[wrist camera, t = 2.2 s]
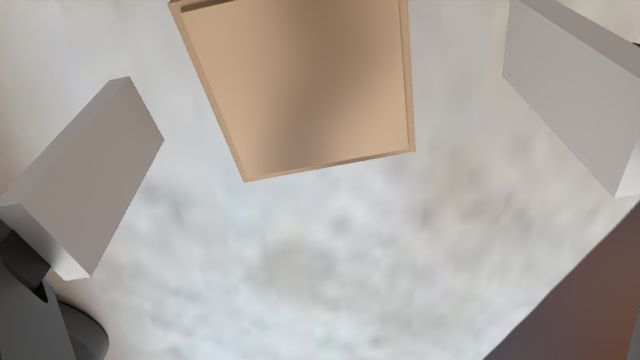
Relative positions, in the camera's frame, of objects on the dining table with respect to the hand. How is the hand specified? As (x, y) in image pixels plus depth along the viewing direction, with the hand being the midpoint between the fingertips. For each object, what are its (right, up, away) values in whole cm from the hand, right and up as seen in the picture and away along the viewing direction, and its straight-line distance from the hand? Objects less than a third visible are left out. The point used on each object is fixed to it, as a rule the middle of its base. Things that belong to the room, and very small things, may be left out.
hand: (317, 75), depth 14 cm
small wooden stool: (-1, +5, +7) cm, 8 cm away
